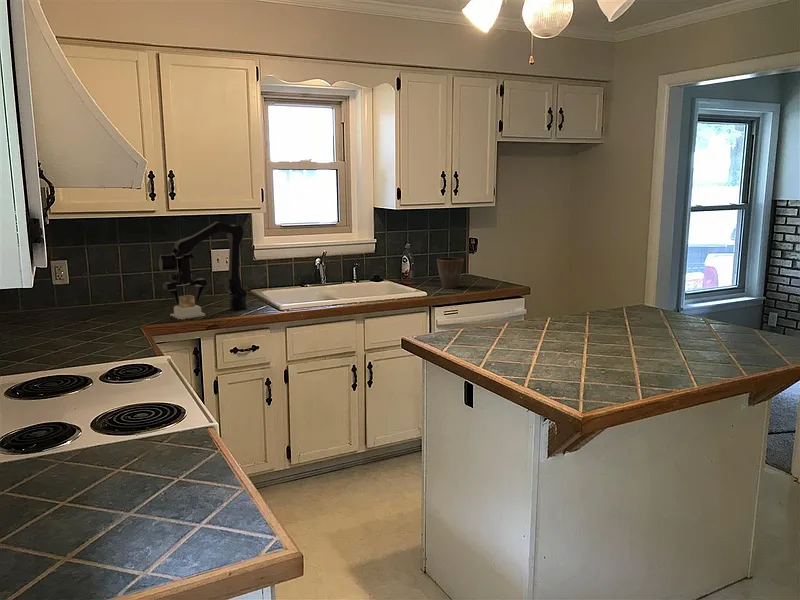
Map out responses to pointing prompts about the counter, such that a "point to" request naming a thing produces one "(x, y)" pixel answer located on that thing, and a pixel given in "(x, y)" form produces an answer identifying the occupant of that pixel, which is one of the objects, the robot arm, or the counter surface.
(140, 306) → the counter surface
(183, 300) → the block
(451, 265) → the plant pot
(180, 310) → the base
